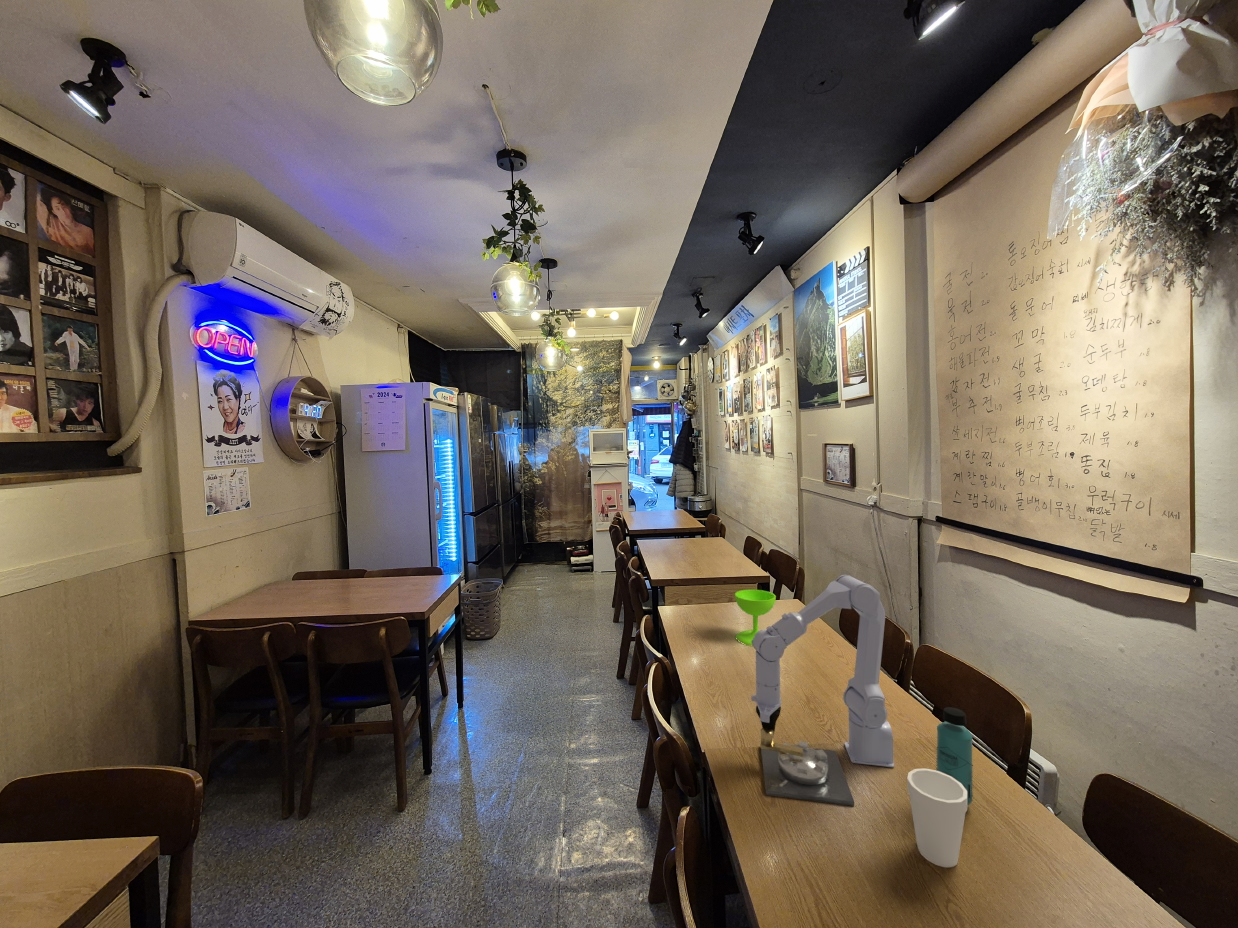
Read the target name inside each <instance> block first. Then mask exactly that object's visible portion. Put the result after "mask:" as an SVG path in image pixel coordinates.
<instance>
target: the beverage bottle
mask: <svg viewBox="0 0 1238 928" xmlns="http://www.w3.org/2000/svg"><path fill="white" fill-rule="evenodd" d="M942 719H943V721H944V722H943V721H942V722H941V723H938V725H937V726H936V730H937V732H936V733H937V735H936V738H937V741H936V743H937V745H936V749H935V751H936V760H935V761H936V764H935V766H936V771H940V772H942V773H944V774H947V775H949V776H951V777H953V778H954V779H956V780H957V781H959V782H960V783H961V784H962V785H963V786H964V788H965V789H966V790H967V807H968V806H970V805H971V804H972V802H973V800H974V799H973V775H974V770H973V767H974V765H973V738H974V737H973V735H972V732H971V731H969V729H967V727H966V725H967V724H968V723H967V714H966V713H965V712H964V711H963V710H961V709H959V708H956V707H951V706H950V707H949V706H948V707H944V708H943V714H942Z"/></svg>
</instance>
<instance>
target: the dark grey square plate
mask: <svg viewBox="0 0 1238 928" xmlns="http://www.w3.org/2000/svg"><path fill="white" fill-rule="evenodd" d="M812 748H813V749H815V750H823V751H824V752H825V753H826V754H827V761H828V778H827V780H826V781H825V782H823V783H821V784H817V785H806V784H801V783H797V782H795V781H792V780H791V779H789V778H787V777H786V776H785V775H784V774H782V772H781V771H780V769H779V766H778V753H779V752H776V751H771V750H766V749H761V748H760V753H761V763H762V770H763V778H764V787H765V794H766V796H769V797H770V796H771V797H779V798H780V797H781V798H788V799H789V798H790V799H795V800H803V801H811V802H819V803H827V804H835V805H841V806H848V807H849V806H851V807H855V800H854V797H853V794H852V791H851V789H850V786H849V783H848V780H847V778H846V775H845V772H844V769H843V767H842V765H841V762H840V759H839V756H838V753H837V751H836V750H832V749H822V748H814V747H812Z"/></svg>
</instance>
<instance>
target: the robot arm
mask: <svg viewBox="0 0 1238 928" xmlns="http://www.w3.org/2000/svg"><path fill="white" fill-rule="evenodd" d="M827 585H828V586H826V589H824V590H823V591H822V592H821V593H820V594H818V596H816V597H815V598H814V599H813V600H811V601H810V602H809V603H807V605H806V606H804V607H803V608H802V609H800V610H799V611H798V612H793V611H792V612H788V613H783V614H782V615H781V618H780V619H778V621H776V622H775V623H774V624H771V625H768V626H767V627H766V629H761V630H758V632H757V633H756V634H755V635H754V636H755V637H754V638H753V640H752V645H753V647H752V648H754V649H755V694H751V697H750V700H751V701H752V702H754V703H755V704H756V706H755V712H756V714H757V716H758V718H759V722H760V724H761V727H762V728H770V729H772V730H773V731H774V733H775V731H776V725H777V721H778V718H779V717H780V715H781V711H782V698H781V660H780V659H781V658H782V657H783V655H784V653H785V650H786V649H787V647H788V646H790V645H791V644H793V642H796V641H797V640H798V639H799V638H801V637H802V636H803V635H805V634H806V633H807V630H808V625H810V624H811V623H813V622H815V621H816V620H818V619H819V618H820V617H822V616H824V615H825V614H827V613H829V612H830V611H832V610H834V609H836V608H837V609H845V610H846V609H847V610H852V609H854V610H855V611H856V613H858V615H859V622H858V623H859V624H858V634H857V644H856V656H855V663H854V664H855V667H854V674H853V675H854V676H853V677H852V678H850V679H848V683H847V687H846V689H845V690H844V692H843V694H842V695H843V697H842V698H843V699H842V700H843V702H844V704H845V705H846V707H848V709H847V711H848V741H845V742H844V743H843V744H844V746H845V749H846V752H847V755H848V757H849V759H850V762H851V763H852V764H860V765H872V766H879V767H887V768H895V763H894V736H893V729H892V726H891V724H890V722H889V721H888V720H887V718H888V710H887V708H886V705H885V704H886V703H885V702H886V698H885V695H884V693H883V691H882V689H881V686H880V675H881V664H882V663H881V662H882V655H883V644H884V643H883V642H884V632H885V622H886V610H885V608H884V606H883V603H882V601H881V593H880V592H879V591H878V590H877V589H875V587H873V586H872V585H871V584H868V583H865V582H864V581H862V580H859V579H857V578H855V577H854V576H852V575H849V574H842V575H839V576H838V577H837V578H836V579H835V580H832V581H831V582H829V584H827ZM762 728H761V729H762Z"/></svg>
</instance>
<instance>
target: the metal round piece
mask: <svg viewBox="0 0 1238 928" xmlns="http://www.w3.org/2000/svg"><path fill="white" fill-rule="evenodd" d="M774 739H775V732H774V731H773V730H772V729H770V728H761V729H760V747H759V748H760V750H761V749H766V750H771V751H776V752H779V753H778V766H779V769H780V771H781V772H782V774H784V775H785V776H786V777H787V778H789V779H791V780H792V781H795V782H797V783H801V784H806V785H817V784H821V783H823V782H825V781H826V780H827V778H828V761H827V754H826V753H825V752H824V751H823V750H815V749H816V748H814V747H810V746H808V745H809V744H808V742H806V741H803V740H799V741H798V744H789V743H786V742H783V743H779V742H777V743H776V742H775V741H774ZM813 748H814V749H813Z"/></svg>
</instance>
